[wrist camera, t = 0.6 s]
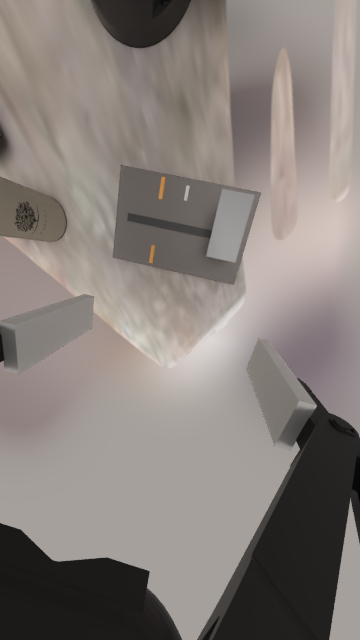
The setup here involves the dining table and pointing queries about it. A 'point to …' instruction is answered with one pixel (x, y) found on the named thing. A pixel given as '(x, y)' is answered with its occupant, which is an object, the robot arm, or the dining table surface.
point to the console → (172, 223)
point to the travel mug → (29, 213)
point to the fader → (229, 225)
